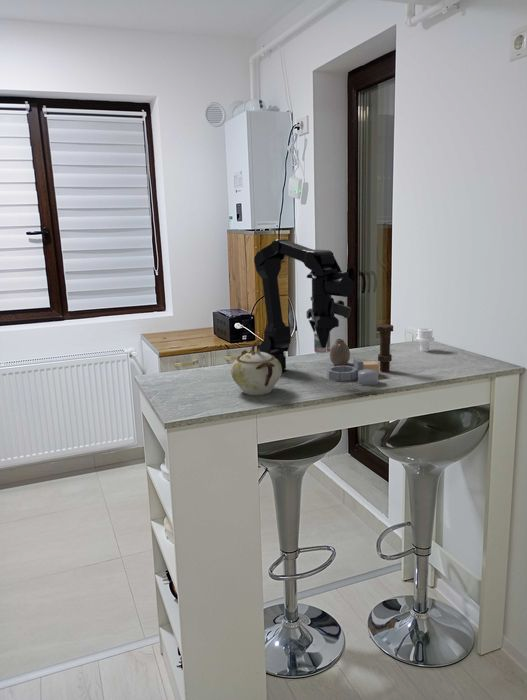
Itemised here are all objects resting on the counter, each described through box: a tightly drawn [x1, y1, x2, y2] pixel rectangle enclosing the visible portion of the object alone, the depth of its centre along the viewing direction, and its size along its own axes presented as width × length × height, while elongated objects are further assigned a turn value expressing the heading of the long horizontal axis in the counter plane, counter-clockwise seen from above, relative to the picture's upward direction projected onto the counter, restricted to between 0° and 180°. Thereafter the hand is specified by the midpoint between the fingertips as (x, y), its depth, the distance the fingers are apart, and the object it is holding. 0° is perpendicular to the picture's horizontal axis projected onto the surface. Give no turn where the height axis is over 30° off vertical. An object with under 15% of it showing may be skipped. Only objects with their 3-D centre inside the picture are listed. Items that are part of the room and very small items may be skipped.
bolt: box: [376, 323, 394, 373], centre depth 190 cm, size 6×5×15 cm
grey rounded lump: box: [357, 369, 379, 386], centre depth 179 cm, size 6×6×4 cm
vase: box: [329, 338, 351, 366], centre depth 201 cm, size 7×7×9 cm
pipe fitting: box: [415, 327, 435, 353], centre depth 218 cm, size 6×7×8 cm
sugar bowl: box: [230, 341, 283, 396], centre depth 173 cm, size 20×15×15 cm
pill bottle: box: [313, 331, 331, 355], centre depth 176 cm, size 5×5×8 cm
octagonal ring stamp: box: [326, 357, 380, 382], centre depth 186 cm, size 16×9×5 cm, turn 96°
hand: (322, 345), depth 177 cm, fingers closed on pill bottle, 5 cm apart
